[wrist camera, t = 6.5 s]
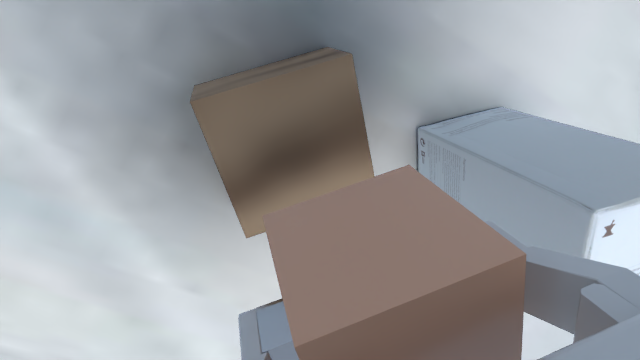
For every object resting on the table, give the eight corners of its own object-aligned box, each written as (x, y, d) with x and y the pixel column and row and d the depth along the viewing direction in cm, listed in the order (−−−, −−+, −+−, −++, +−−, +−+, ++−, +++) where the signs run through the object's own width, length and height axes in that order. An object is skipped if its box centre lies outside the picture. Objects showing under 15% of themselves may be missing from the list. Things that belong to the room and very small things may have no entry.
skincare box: (416, 189, 30) (567, 319, 17) (415, 121, 28) (593, 216, 15) (501, 166, 32) (700, 271, 19) (508, 100, 29) (745, 168, 16)
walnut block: (194, 85, 23) (190, 101, 18) (326, 46, 24) (351, 53, 20) (240, 202, 27) (246, 238, 23) (351, 164, 28) (377, 192, 24)
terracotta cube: (262, 215, 11) (294, 347, 7) (408, 164, 12) (526, 253, 7) (302, 324, 13) (346, 475, 9) (423, 276, 14) (519, 395, 10)
